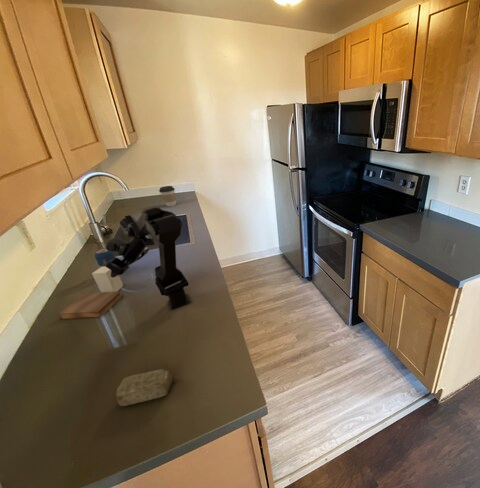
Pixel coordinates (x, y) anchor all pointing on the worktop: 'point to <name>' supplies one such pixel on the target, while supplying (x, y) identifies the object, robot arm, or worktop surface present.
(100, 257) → the soda can
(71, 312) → the wooden base plate
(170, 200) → the coffee cup
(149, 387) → the stone block
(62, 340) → the worktop surface
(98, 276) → the cream box
